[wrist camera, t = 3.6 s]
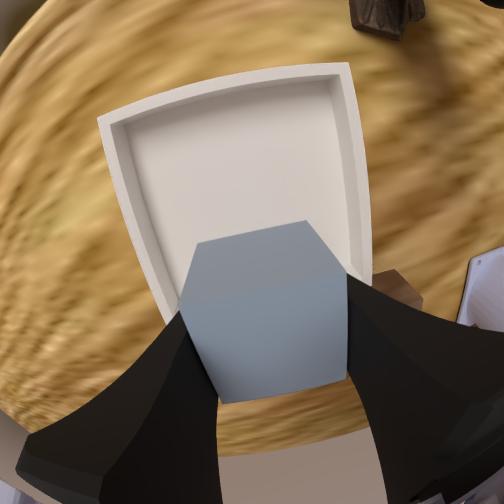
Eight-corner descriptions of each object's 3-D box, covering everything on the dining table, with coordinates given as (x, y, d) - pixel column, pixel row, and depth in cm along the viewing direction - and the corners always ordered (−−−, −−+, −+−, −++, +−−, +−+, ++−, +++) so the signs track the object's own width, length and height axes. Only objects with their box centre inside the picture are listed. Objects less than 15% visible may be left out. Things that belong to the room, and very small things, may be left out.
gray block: (316, 309, 11) (345, 379, 8) (224, 328, 12) (222, 403, 8) (306, 220, 10) (346, 271, 6) (197, 243, 10) (178, 305, 6)
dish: (331, 72, 12) (348, 62, 10) (356, 266, 17) (371, 285, 15) (117, 119, 13) (97, 117, 10) (175, 304, 18) (167, 328, 15)
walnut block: (393, 268, 18) (423, 298, 14) (390, 313, 19) (413, 346, 16) (342, 281, 18) (365, 317, 14) (343, 326, 19) (361, 364, 16)
